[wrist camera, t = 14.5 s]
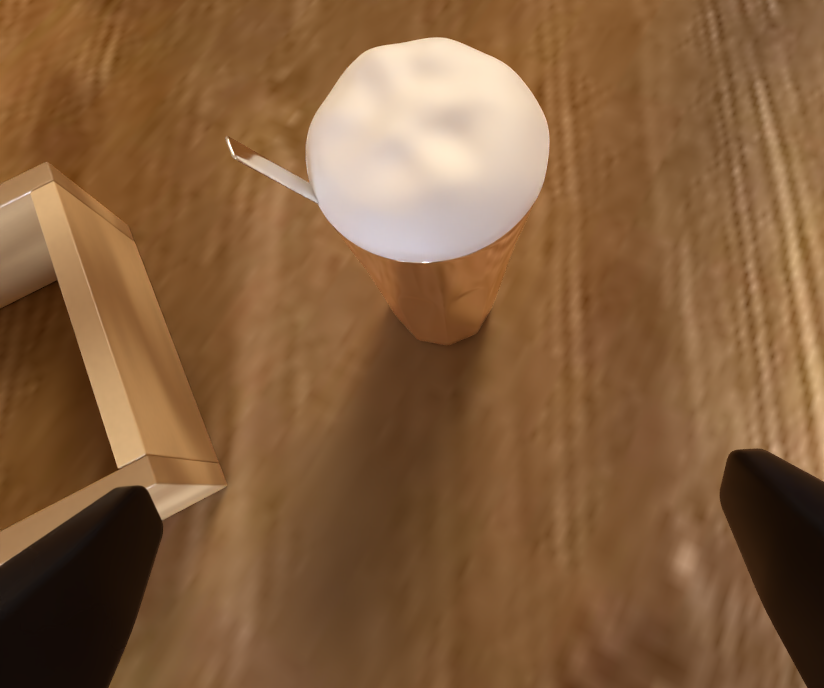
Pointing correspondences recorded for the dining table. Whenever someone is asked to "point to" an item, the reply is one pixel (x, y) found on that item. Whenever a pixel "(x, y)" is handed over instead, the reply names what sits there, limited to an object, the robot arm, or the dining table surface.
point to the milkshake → (425, 176)
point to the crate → (106, 346)
